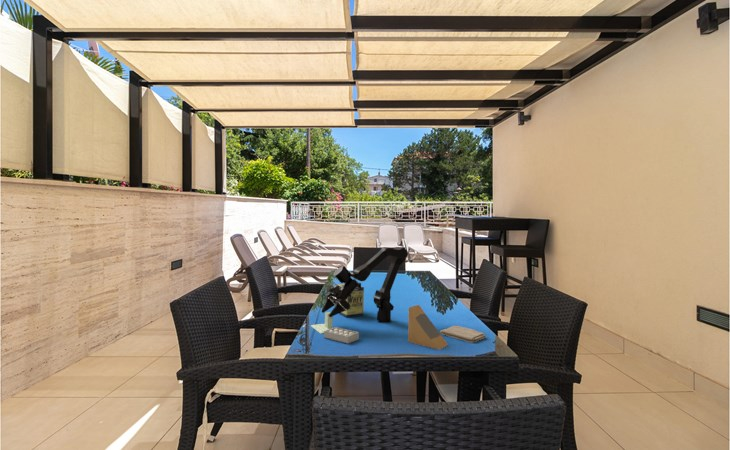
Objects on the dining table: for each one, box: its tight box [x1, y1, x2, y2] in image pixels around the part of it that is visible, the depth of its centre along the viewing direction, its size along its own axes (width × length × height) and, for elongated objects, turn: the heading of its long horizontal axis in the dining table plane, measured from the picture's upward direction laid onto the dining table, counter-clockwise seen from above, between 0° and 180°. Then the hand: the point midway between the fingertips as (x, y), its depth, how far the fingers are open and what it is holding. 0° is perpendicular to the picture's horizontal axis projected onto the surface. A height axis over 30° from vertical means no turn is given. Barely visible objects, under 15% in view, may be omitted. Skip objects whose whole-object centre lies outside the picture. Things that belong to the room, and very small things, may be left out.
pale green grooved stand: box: [310, 311, 334, 335], centre depth 183 cm, size 8×13×8 cm, turn 28°
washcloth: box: [439, 325, 487, 344], centre depth 176 cm, size 12×18×3 cm, turn 45°
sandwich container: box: [407, 304, 449, 350], centre depth 164 cm, size 9×15×15 cm, turn 51°
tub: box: [323, 326, 360, 345], centre depth 169 cm, size 8×13×3 cm, turn 55°
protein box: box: [334, 283, 365, 319], centre depth 213 cm, size 10×16×16 cm
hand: (325, 314), depth 183 cm, fingers open, 9 cm apart
